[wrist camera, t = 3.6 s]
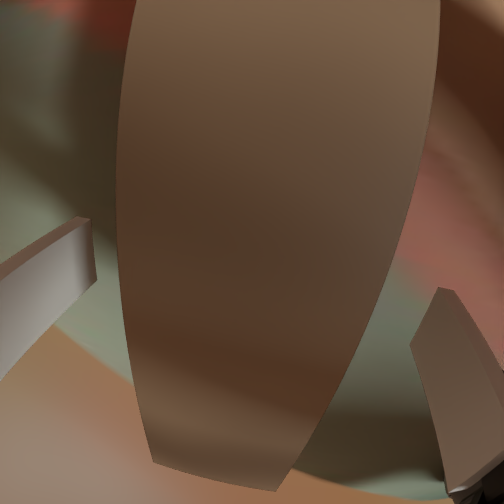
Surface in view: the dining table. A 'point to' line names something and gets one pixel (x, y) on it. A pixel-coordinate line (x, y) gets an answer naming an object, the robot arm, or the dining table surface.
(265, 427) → the brown piece
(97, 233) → the dining table surface
